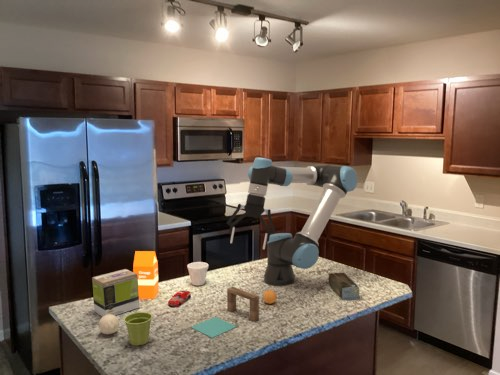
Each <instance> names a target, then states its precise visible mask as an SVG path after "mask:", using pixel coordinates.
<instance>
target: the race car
mask: <svg viewBox="0 0 500 375" xmlns="http://www.w3.org/2000/svg"><path fill="white" fill-rule="evenodd" d="M191 296H192V295H191V291H190V290H179V291H177V292H176V293H175V294H173V295H172V297H171V298H169V300H168V302H167V305H168V306H169V307H172V308H176V307H180V306H181V305H183V304H185V302H188V301H189V300H190V298H191Z"/></svg>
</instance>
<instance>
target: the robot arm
mask: <svg viewBox="0 0 500 375" xmlns="http://www.w3.org/2000/svg"><path fill="white" fill-rule="evenodd" d="M247 178H248V179H249V186H248V189H247V193H248V194H247V196H246V200H245V201H246V202H245V205H243V204H241V203H238V205H237V206H236V207H237V208H236V209H235V211H234V212H233V214H232V215H231V216H230V217H229V219H228V220H227V221H226V224H227V225H228V226H229V230H228V235H230V241H229V242H230V244H233V241H234V237H235V236H234V235H235V229H236V227H235V225H237V224H238V223H239V222H241V220H243V219H244V218H245V217H246V216H247V217H249V218H254V219H259V220H260V222H261V224H262V226H263V227H264V229H265V231H266V232H265V235H264V240H263V245H262V250H265V249H267V254H266V255H267V265H266V268H265V271H264V275H263V282H264V283H265V284H267V285H270V286H275V287H278V286H279V287H280V286H281V287H285V286H290V285H293V284H294V283H295V282H296V274H295V272H294V269H293V267H295V268H297V269H298V268H299V269H307V270H308V269H310V268H312V267H314V265H316V263H317V262H318V260H319V256H320V255H319V253H320V251H319V244H320V243H319V239H320V237H321V235H322V234H323V231H324V230H325V228H326V226H327V224H328V222H329V220H330V218H331V216H332V215H333V213H334V211H335V209H336V208H337V205H338V203H339V201H340V199H344V198H345V197H346V195H347V194H348V192H353V191H354V190H355V189H356V188H357V185H358V174H357V172H356V170H355V169H354V168H353V167H352V166H351V167H350V166H346V165H333V164H323V165H322V164H321V165H308V166H306V167H298V166H297V167H296V166H293V167H292V166H274V165H273V161H272V159H270V158H265V157H259V156H258V157H257V156H256V157H255V159H254V160H253V164H252V166H250V167H249V168H248V171H247ZM291 184H305V185H307V186H315V187H320V188H323V191H322V193H321V195H320V197H319V199H318V200H317V202H316V203H315V205H314V207H313V208H312V211H311V213H310V215H309V216H308V218H307V220H306V222H305V224H304V226H303V227H302V229H301V231H299V232H296V233H295V235H294V237H293V235H292V233H290V232H278V233H276V229H275V227H274V226H275V225H274V223H273V219H272V216H271V213H272V211H271V209H269V208H268V209H265V202H266V197H265V196H267V191H268V186H269V185H276V186H280V187H288V186H290V185H291ZM242 209H244V211H245V212H244V213H243V214H241V215H240V216H239V217H238V218H237V219H235V217H236V216H237V214H238V213H239V212H240V210H242ZM264 213H265V214H266V215H267V218H268V223H269V225H270V228H269V226H268V225H267V222H265V220H264V218H263V216H262V215H263V214H264ZM233 219H235V221H233ZM232 221H233V222H232ZM266 245H267V246H266Z"/></svg>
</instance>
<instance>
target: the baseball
mask: <svg viewBox="0 0 500 375" xmlns="http://www.w3.org/2000/svg"><path fill="white" fill-rule="evenodd" d="M119 326H120V321H119V318H118V317H117V315H112V314H108V315H105V316H103V317H102V316H101V318H100V320H99V321H98V328H99V332H101V333H102V334H103V335H112V334H114V333H116V332H117V331H118V329H119Z"/></svg>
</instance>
